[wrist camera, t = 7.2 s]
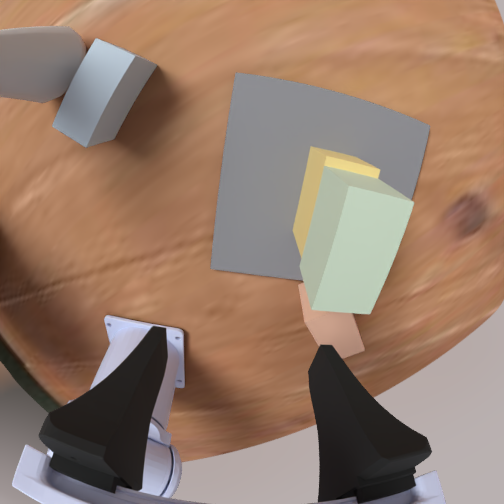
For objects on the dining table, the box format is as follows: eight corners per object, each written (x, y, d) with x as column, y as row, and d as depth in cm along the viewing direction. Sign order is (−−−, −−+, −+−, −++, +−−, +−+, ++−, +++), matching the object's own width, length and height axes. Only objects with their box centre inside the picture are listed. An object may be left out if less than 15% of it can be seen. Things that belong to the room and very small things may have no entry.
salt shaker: (98, 21, 12) (-33, -18, 1) (99, 88, 15) (-54, 100, 4) (40, 47, 12) (-86, 48, 1) (41, 109, 15) (-92, 147, 4)
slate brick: (114, 139, 17) (86, 147, 14) (83, 120, 16) (52, 126, 13) (158, 65, 15) (135, 55, 11) (123, 48, 14) (96, 38, 10)
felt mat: (376, 285, 23) (378, 288, 22) (211, 265, 22) (210, 268, 21) (426, 125, 16) (430, 125, 16) (236, 73, 15) (235, 72, 15)
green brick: (348, 272, 17) (369, 314, 13) (299, 266, 16) (311, 309, 13) (378, 178, 14) (414, 202, 10) (324, 165, 14) (349, 185, 10)
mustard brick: (334, 236, 20) (351, 265, 16) (292, 230, 20) (301, 258, 16) (355, 156, 17) (380, 169, 14) (310, 146, 17) (326, 155, 13)
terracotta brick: (354, 315, 24) (365, 350, 21) (321, 328, 25) (328, 363, 22) (335, 269, 21) (348, 305, 18) (298, 284, 22) (304, 322, 19)
